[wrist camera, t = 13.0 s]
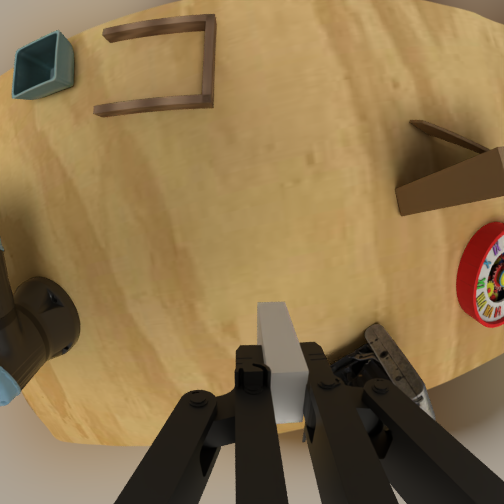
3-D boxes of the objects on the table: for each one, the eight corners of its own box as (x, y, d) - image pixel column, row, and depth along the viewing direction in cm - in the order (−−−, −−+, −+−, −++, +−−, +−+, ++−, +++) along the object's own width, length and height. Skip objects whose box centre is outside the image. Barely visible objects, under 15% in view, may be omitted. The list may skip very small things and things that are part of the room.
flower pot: (85, 46, 37) (59, 28, 28) (84, 92, 39) (55, 79, 30) (44, 63, 37) (15, 50, 28) (42, 107, 39) (11, 99, 30)
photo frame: (488, 195, 45) (590, 218, 21) (398, 215, 45) (510, 255, 21) (477, 117, 41) (580, 107, 17) (382, 122, 42) (493, 92, 17)
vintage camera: (301, 363, 52) (322, 450, 33) (378, 318, 49) (431, 390, 30) (324, 394, 54) (348, 475, 35) (395, 354, 52) (441, 425, 33)
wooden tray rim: (103, 117, 40) (93, 113, 37) (111, 36, 37) (103, 28, 33) (213, 107, 41) (210, 102, 37) (216, 24, 37) (214, 13, 34)
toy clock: (464, 338, 45) (479, 230, 41) (449, 324, 51) (459, 224, 46) (525, 316, 46) (539, 224, 41) (509, 306, 51) (520, 219, 46)
